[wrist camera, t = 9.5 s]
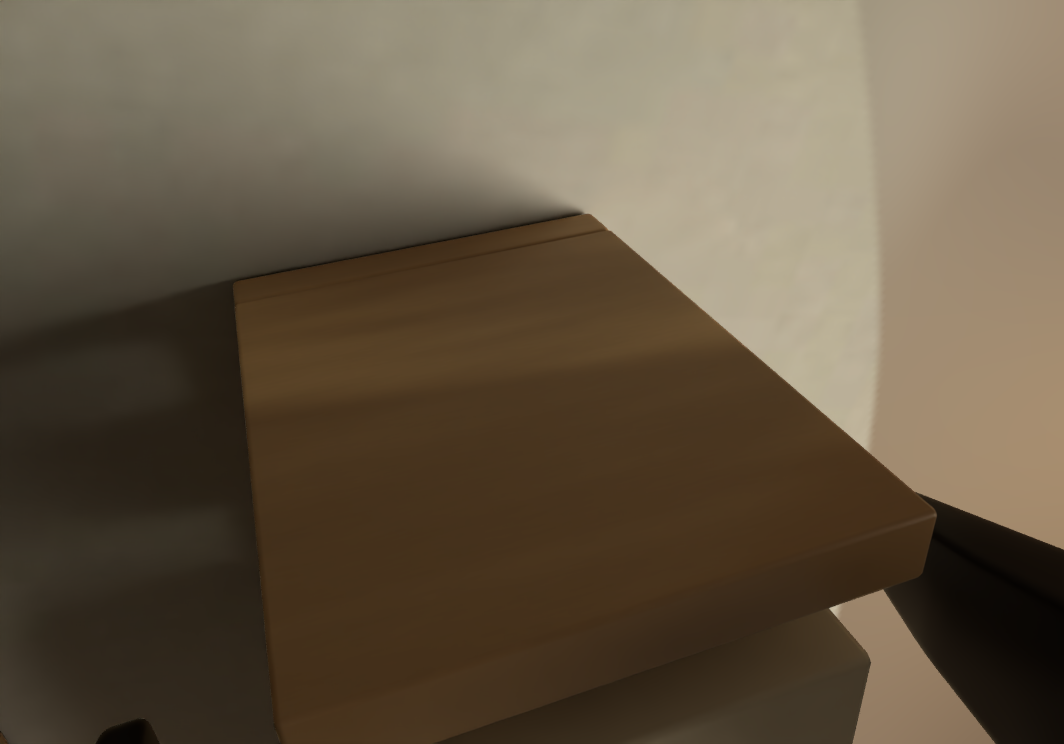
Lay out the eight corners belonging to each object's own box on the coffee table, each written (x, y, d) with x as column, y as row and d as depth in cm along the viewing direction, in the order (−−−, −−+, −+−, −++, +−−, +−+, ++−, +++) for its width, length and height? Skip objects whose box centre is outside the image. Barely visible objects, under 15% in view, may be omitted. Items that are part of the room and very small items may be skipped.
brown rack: (604, 718, 20) (790, 1099, 14) (376, 799, 19) (468, 1262, 13) (590, 210, 13) (941, 511, 7) (231, 279, 12) (272, 726, 6)
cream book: (595, 448, 15) (842, 803, 9) (312, 523, 14) (396, 986, 8) (592, 331, 14) (876, 658, 8) (279, 402, 12) (353, 848, 7)
